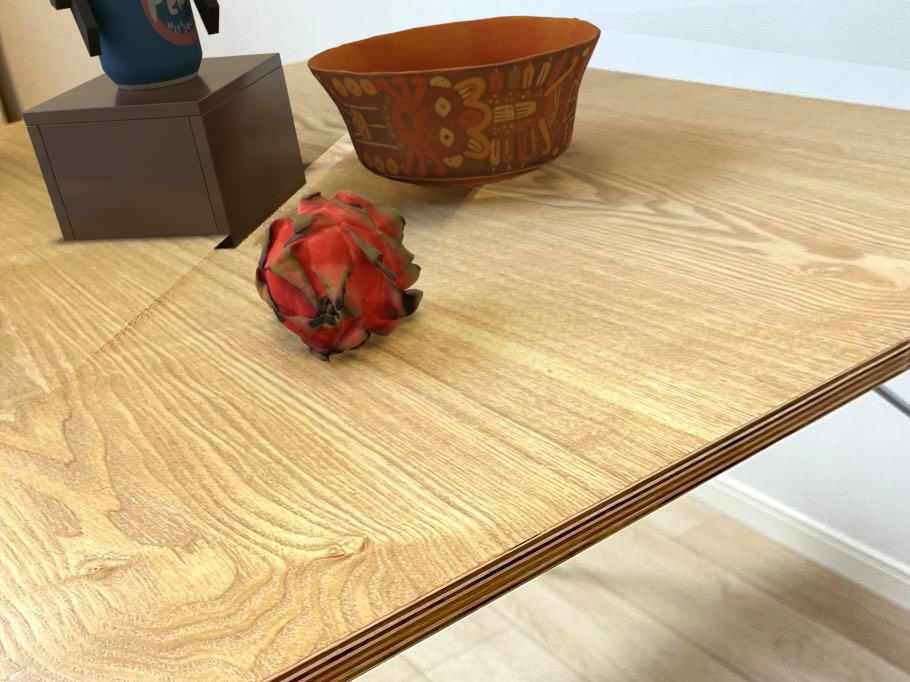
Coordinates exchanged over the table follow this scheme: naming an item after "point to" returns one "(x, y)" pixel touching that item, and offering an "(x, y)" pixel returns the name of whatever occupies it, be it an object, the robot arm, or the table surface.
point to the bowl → (460, 97)
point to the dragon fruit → (338, 271)
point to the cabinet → (171, 153)
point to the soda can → (147, 42)
